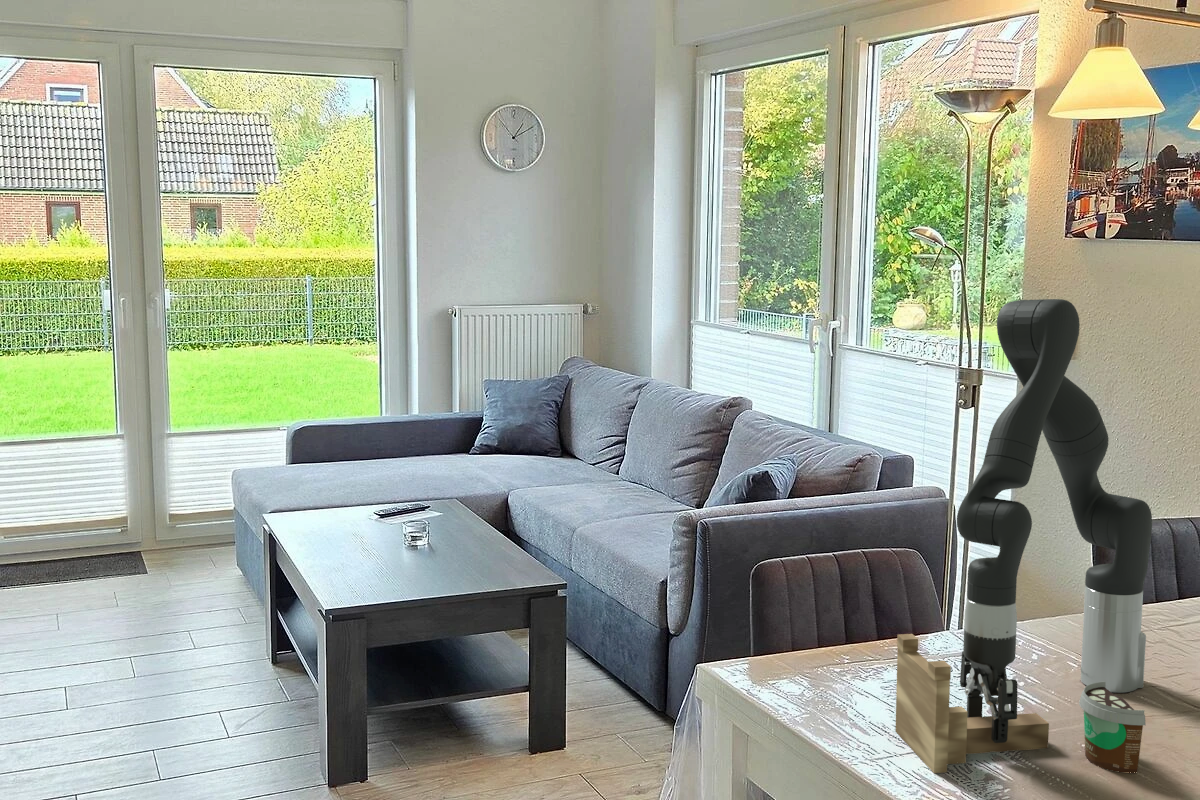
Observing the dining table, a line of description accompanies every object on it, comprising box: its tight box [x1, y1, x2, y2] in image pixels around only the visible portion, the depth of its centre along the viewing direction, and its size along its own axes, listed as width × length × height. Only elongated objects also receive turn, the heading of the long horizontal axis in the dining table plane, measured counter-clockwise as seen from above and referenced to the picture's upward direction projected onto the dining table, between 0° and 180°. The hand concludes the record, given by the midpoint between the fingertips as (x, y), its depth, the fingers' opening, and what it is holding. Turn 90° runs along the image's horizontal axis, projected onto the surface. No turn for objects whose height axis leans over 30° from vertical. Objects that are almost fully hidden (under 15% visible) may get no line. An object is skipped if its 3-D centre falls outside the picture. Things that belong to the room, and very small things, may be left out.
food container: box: [1078, 681, 1146, 774], centre depth 179 cm, size 12×6×10 cm, turn 5°
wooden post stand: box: [895, 633, 967, 774], centre depth 182 cm, size 6×15×16 cm, turn 8°
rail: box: [966, 712, 1050, 755], centre depth 184 cm, size 18×4×6 cm, turn 98°
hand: (986, 730), depth 184 cm, fingers open, 8 cm apart
